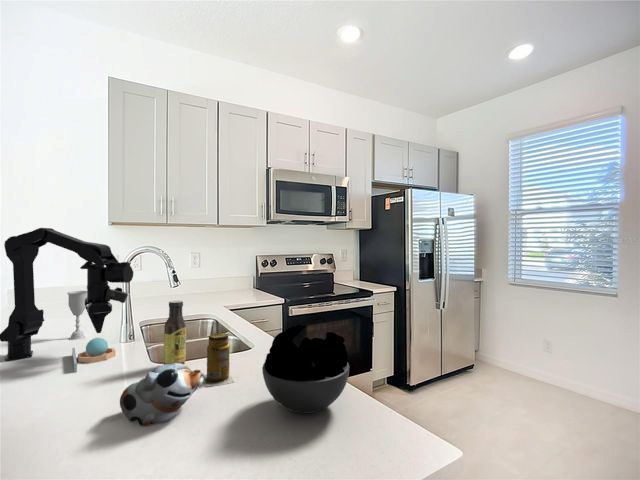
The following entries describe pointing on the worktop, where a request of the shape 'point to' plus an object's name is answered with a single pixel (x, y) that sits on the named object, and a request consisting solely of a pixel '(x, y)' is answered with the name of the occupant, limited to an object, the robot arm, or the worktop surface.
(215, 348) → the condiment
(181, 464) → the worktop surface
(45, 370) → the worktop surface
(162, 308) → the worktop surface
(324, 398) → the coal bowl
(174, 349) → the sauce bottle
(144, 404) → the lucky cat figurine
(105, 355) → the saucer
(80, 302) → the chalice
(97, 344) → the ball
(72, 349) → the low wall
